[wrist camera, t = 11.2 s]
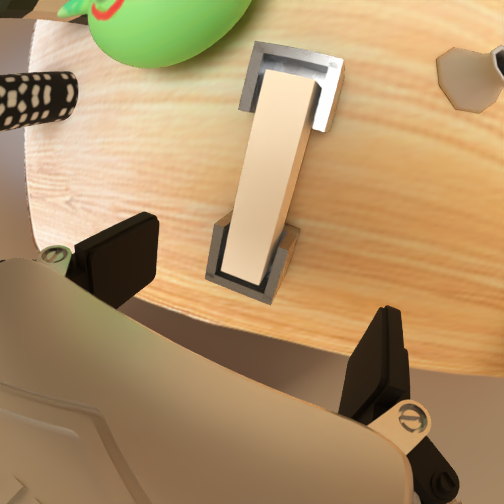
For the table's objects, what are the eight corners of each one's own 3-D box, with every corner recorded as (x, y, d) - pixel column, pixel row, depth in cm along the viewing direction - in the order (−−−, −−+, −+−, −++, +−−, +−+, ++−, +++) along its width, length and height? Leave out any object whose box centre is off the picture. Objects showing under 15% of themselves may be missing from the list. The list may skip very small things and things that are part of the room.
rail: (321, 88, 24) (315, 79, 20) (272, 263, 33) (258, 285, 29) (280, 78, 25) (265, 69, 20) (239, 250, 34) (220, 270, 29)
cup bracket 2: (300, 229, 32) (288, 250, 27) (284, 277, 35) (270, 305, 30) (237, 207, 34) (214, 223, 29) (226, 256, 37) (204, 278, 32)
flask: (450, 119, 22) (491, 119, 14) (424, 53, 20) (452, 23, 12) (503, 108, 19) (553, 108, 10) (478, 44, 17) (520, 20, 9)
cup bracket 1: (345, 72, 24) (343, 59, 19) (329, 131, 27) (324, 132, 22) (273, 55, 25) (254, 41, 20) (259, 112, 29) (238, 109, 23)
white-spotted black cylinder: (66, 62, 33) (-42, 70, 15) (85, 91, 34) (-35, 106, 17) (45, 100, 37) (-53, 119, 20) (62, 130, 38) (-44, 157, 21)
